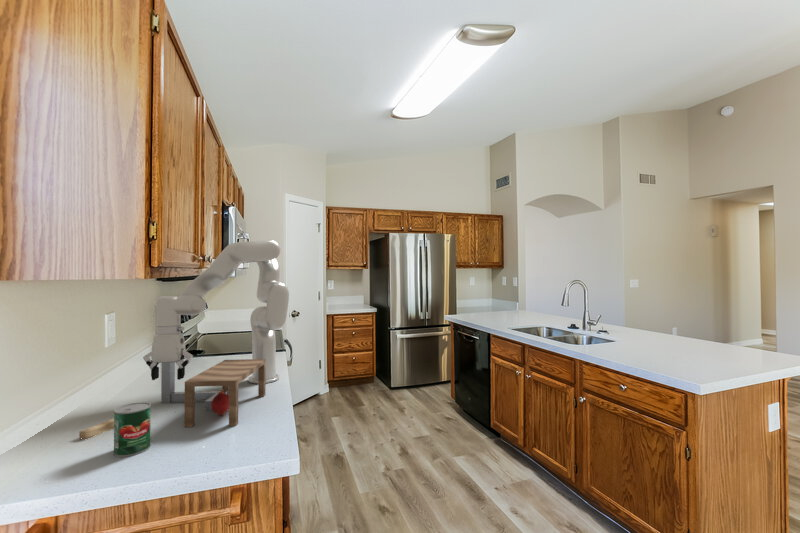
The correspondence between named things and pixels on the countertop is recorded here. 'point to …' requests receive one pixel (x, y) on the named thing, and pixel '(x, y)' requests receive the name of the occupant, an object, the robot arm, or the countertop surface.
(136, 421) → the canned tomato
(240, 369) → the shelf
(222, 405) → the onion
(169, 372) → the grey angled piece
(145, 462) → the countertop surface
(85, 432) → the wooden bar
